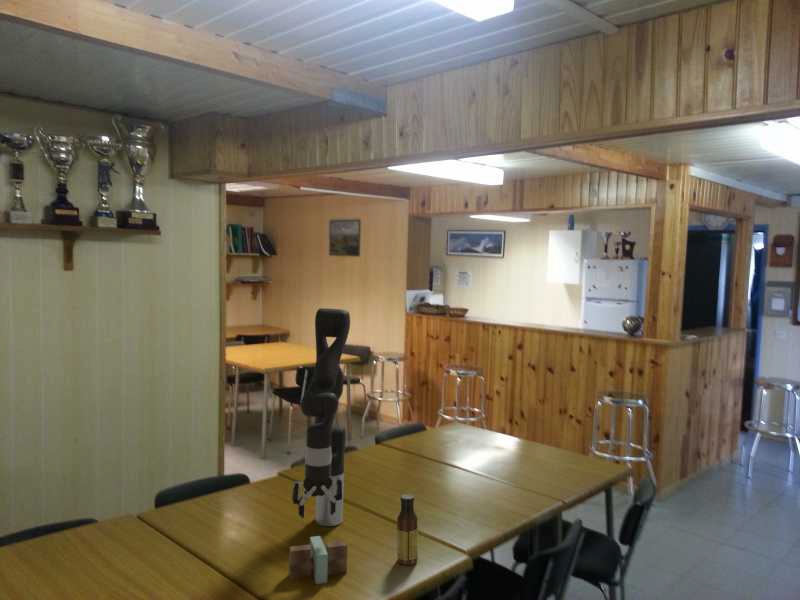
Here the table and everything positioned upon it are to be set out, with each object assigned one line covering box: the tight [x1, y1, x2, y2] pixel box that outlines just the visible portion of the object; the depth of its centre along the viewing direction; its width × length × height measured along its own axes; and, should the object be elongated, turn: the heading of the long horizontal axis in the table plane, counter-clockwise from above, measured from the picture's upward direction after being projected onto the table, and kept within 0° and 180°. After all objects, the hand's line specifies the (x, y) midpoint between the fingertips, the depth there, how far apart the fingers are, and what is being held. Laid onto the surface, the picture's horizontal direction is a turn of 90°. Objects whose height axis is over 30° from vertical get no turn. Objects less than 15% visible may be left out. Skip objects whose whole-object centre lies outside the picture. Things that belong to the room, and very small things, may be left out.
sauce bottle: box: [396, 493, 419, 566], centre depth 181 cm, size 7×6×20 cm
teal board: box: [309, 535, 328, 585], centre depth 173 cm, size 12×3×8 cm, turn 18°
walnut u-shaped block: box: [288, 540, 348, 580], centre depth 172 cm, size 16×3×8 cm, turn 108°
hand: (316, 515), depth 176 cm, fingers open, 8 cm apart
